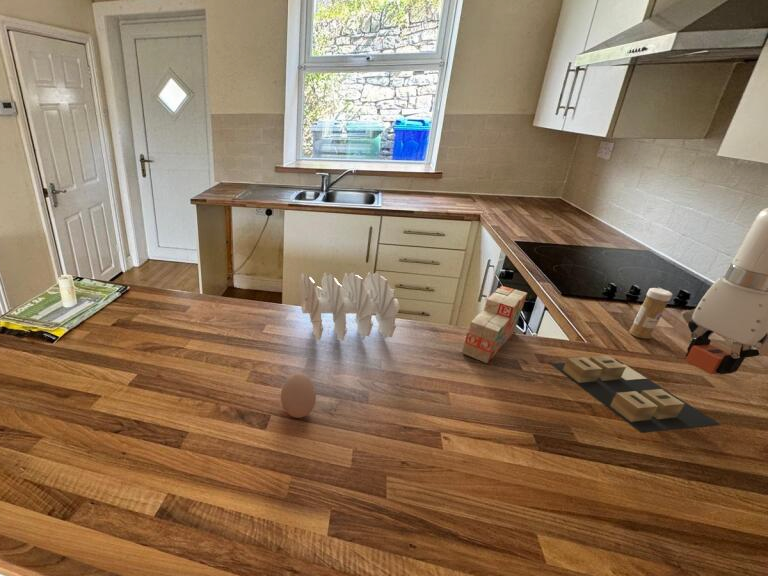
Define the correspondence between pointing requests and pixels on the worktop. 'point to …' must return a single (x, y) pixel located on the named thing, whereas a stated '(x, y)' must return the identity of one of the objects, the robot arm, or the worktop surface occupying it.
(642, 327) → the sprinkles bottle
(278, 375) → the worktop surface
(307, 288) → the white pleated sculpture
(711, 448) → the worktop surface
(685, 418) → the letter mat
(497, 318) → the stack of blocks
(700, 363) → the orange toy block
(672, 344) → the worktop surface
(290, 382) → the egg
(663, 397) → the word tiles
